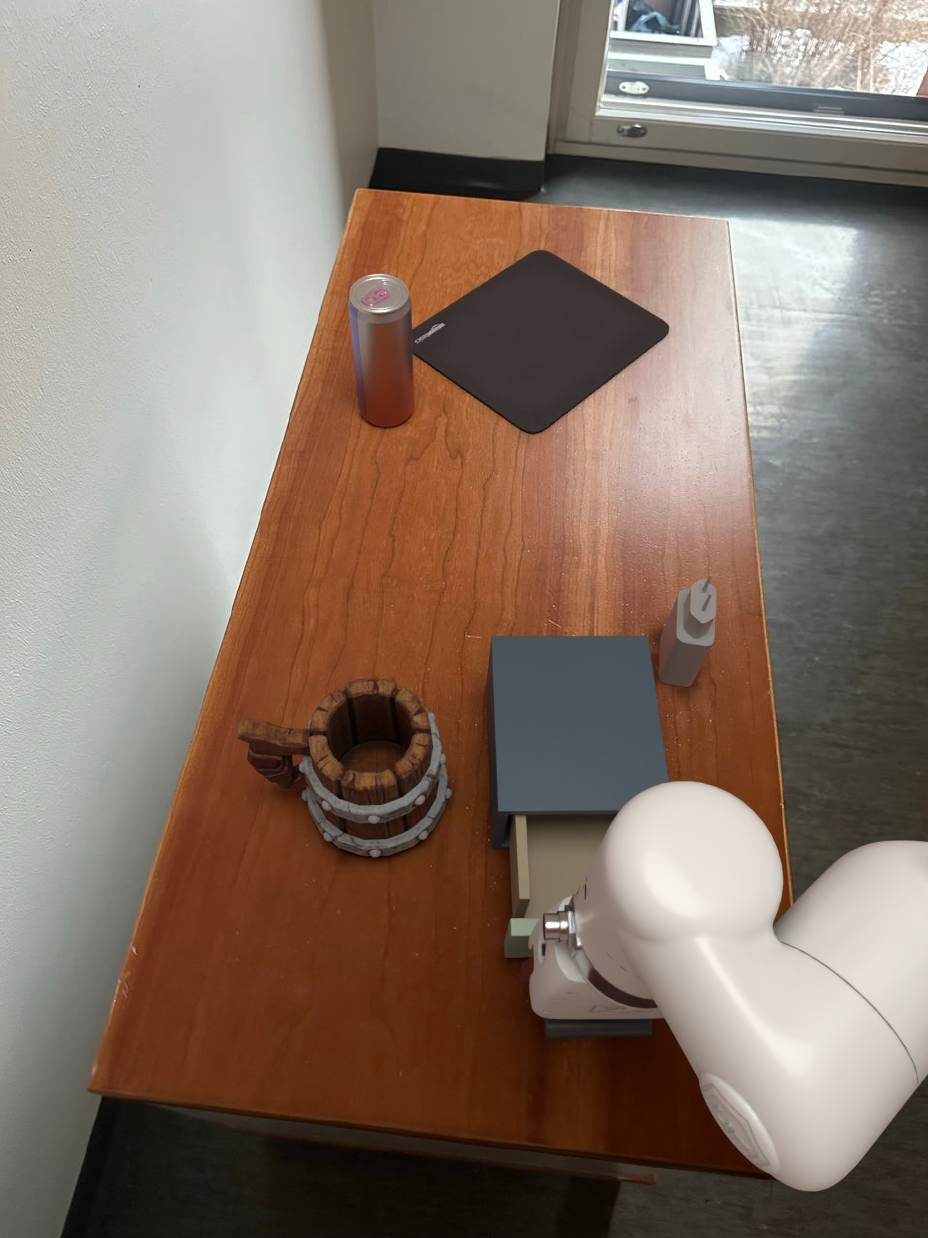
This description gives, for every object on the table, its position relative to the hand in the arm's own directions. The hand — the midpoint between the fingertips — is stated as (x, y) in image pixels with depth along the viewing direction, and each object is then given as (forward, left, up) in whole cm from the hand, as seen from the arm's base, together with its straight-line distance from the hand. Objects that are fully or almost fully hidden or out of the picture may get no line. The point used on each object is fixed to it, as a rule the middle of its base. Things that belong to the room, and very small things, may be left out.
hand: (590, 991), depth 62 cm
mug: (+16, +17, -4) cm, 24 cm away
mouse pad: (+72, -1, -4) cm, 72 cm away
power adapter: (+28, -11, -4) cm, 31 cm away
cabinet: (+18, 0, -4) cm, 19 cm away
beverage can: (+59, +16, -4) cm, 62 cm away
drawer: (+7, 0, -3) cm, 7 cm away
